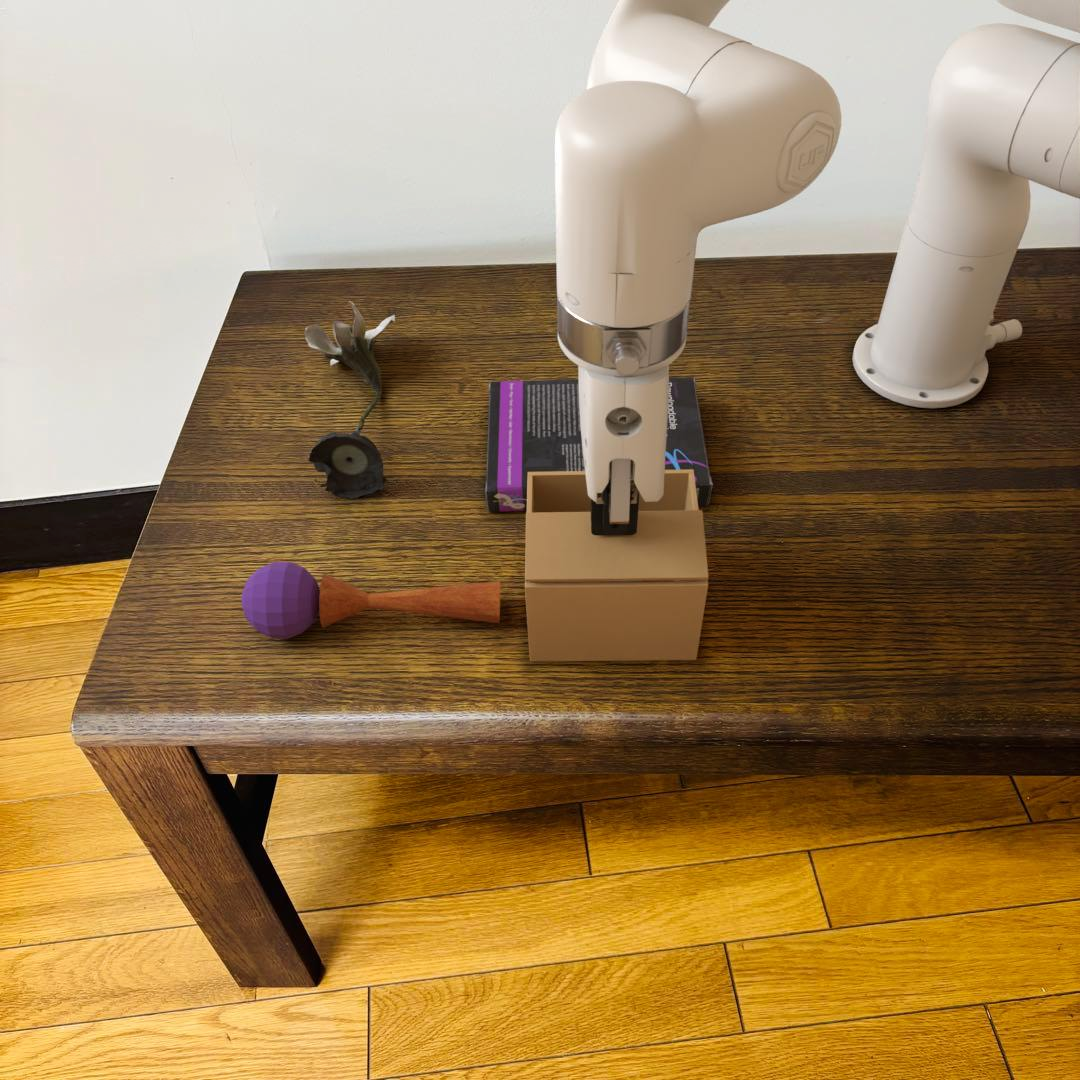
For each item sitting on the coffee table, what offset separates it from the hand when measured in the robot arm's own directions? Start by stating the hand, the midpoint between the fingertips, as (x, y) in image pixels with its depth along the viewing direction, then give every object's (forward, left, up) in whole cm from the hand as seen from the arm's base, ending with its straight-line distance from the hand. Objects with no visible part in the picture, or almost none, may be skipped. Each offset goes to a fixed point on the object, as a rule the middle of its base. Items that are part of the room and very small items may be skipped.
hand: (613, 526), depth 71 cm
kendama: (+17, -7, -11) cm, 22 cm away
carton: (-1, -2, -11) cm, 11 cm away
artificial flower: (+14, -31, -11) cm, 36 cm away
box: (-6, -18, -11) cm, 22 cm away
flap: (0, +1, -1) cm, 2 cm away
